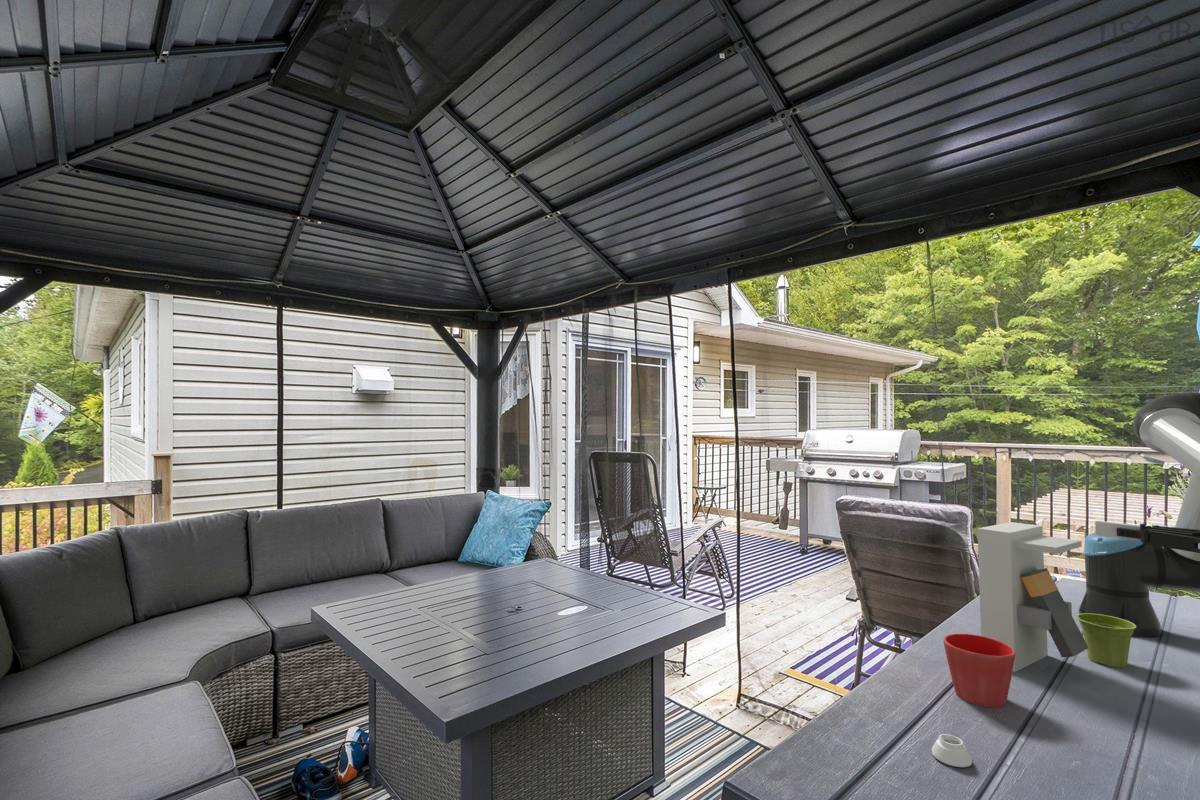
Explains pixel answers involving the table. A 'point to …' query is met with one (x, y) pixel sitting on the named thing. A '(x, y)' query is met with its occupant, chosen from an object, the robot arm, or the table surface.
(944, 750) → the white jar
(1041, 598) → the breaker switch
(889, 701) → the table surface
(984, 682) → the flower pot
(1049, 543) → the box
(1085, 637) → the plant pot
